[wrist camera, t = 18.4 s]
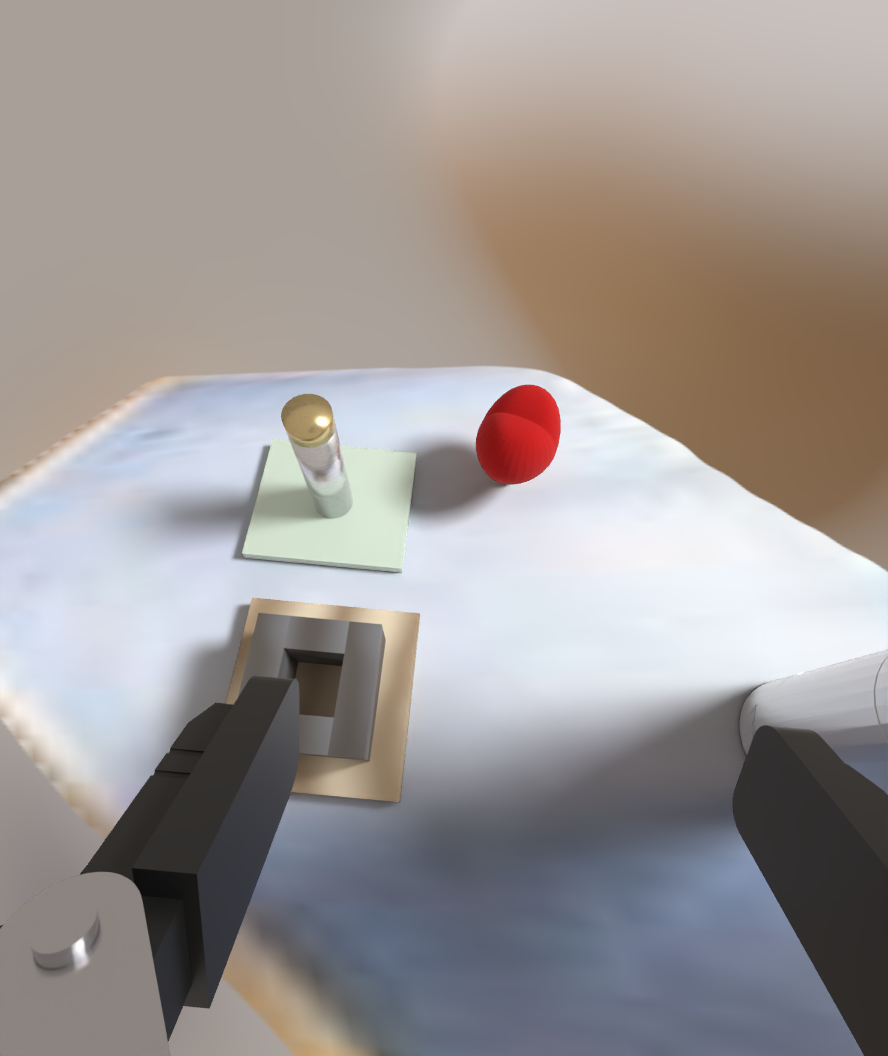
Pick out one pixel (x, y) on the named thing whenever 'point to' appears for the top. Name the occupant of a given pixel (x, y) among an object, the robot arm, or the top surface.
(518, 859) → the top surface
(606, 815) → the top surface
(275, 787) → the robot arm
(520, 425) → the red rounded lobed piece
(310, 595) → the top surface
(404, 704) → the stand
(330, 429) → the key peg
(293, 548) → the sage mat
